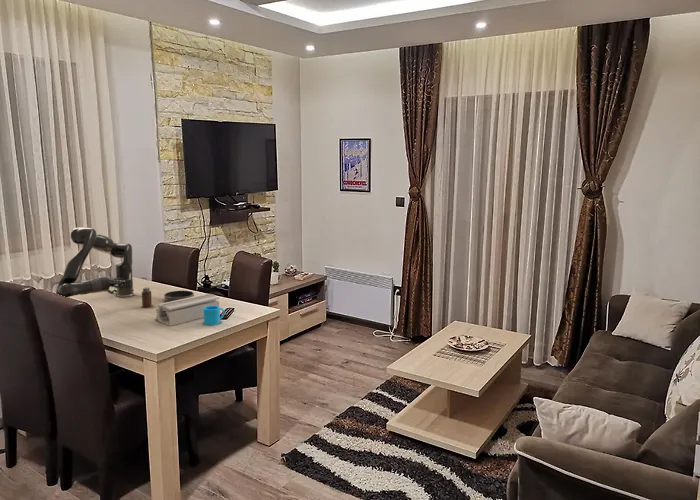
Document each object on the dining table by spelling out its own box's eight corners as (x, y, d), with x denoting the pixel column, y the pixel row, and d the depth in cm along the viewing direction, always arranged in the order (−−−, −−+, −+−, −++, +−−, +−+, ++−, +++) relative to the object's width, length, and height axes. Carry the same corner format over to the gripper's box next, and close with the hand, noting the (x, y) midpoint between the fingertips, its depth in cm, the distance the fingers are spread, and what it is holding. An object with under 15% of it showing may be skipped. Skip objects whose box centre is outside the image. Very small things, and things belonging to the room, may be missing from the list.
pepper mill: (140, 307, 292) (139, 288, 290) (147, 304, 297) (146, 286, 295) (147, 308, 290) (146, 289, 288) (153, 305, 295) (152, 287, 293)
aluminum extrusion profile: (155, 319, 270) (154, 301, 268) (204, 308, 293) (204, 291, 291) (170, 325, 261) (169, 307, 259) (219, 313, 284) (218, 296, 282)
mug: (209, 326, 261) (209, 311, 260) (201, 322, 267) (200, 307, 265) (229, 321, 270) (228, 306, 269) (220, 317, 276) (219, 303, 274)
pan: (158, 301, 305) (157, 295, 304) (178, 294, 320) (177, 289, 320) (180, 304, 298) (180, 299, 298) (199, 298, 314) (199, 292, 313)
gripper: (103, 280, 264) (133, 275, 277) (91, 276, 273) (120, 271, 285) (104, 294, 266) (134, 288, 278) (92, 289, 274) (121, 284, 287)
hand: (127, 280), depth 282 cm, fingers open, 8 cm apart
